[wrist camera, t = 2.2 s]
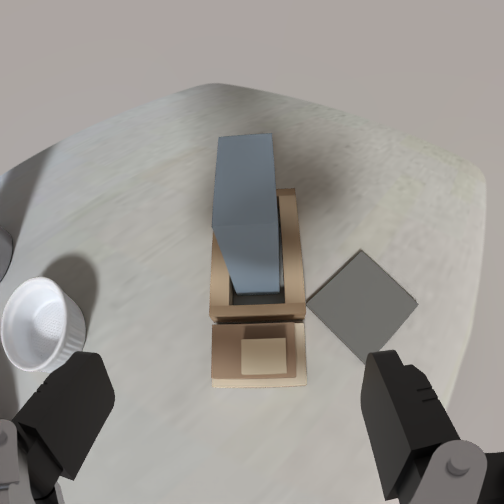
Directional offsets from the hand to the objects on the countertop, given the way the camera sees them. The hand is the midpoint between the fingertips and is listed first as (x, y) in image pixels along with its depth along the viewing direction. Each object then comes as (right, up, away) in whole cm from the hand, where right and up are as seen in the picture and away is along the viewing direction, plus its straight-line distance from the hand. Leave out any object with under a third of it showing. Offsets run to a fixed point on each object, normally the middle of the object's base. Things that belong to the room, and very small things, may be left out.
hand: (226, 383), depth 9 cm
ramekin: (-18, -4, +18) cm, 26 cm away
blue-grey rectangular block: (+1, +3, +20) cm, 20 cm away
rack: (+1, +1, +18) cm, 18 cm away
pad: (+10, -1, +17) cm, 19 cm away
